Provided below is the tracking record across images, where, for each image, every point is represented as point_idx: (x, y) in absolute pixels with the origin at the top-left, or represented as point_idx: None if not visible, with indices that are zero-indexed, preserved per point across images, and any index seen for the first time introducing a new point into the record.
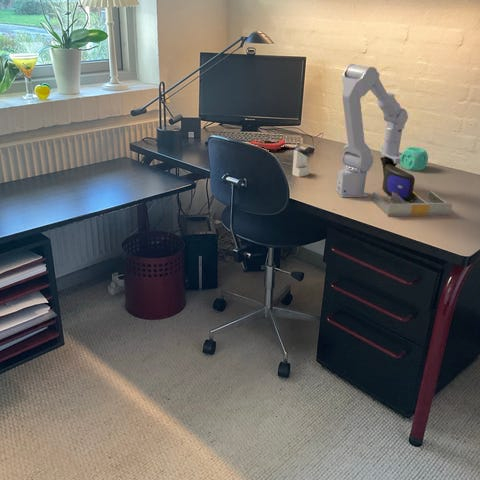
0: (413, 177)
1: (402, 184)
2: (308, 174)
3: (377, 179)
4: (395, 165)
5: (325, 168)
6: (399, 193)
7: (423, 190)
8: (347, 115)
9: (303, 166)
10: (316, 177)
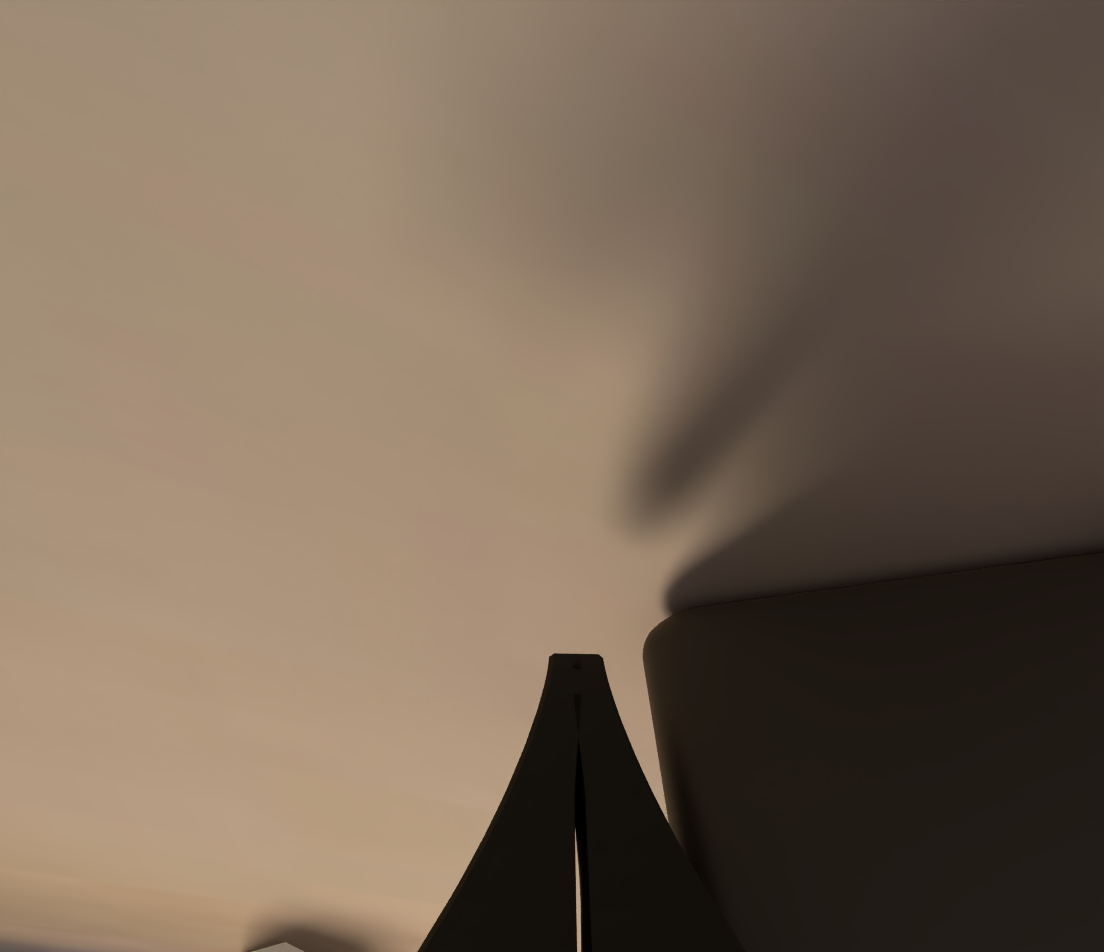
0: None
1: None
2: (290, 945)
3: (311, 585)
4: (724, 921)
5: (73, 856)
6: None
7: (931, 15)
8: None
9: None
10: (351, 929)
